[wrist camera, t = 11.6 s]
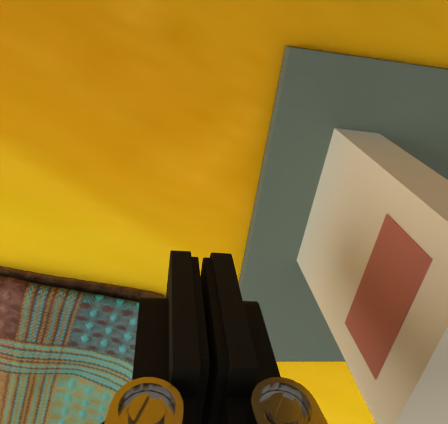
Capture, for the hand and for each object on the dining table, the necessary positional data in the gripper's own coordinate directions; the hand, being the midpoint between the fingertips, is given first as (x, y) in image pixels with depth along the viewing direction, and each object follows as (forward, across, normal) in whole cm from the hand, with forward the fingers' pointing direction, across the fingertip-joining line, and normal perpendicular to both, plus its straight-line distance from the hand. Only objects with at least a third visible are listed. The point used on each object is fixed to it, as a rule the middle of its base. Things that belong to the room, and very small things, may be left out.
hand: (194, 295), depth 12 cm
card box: (+6, -7, 0) cm, 9 cm away
